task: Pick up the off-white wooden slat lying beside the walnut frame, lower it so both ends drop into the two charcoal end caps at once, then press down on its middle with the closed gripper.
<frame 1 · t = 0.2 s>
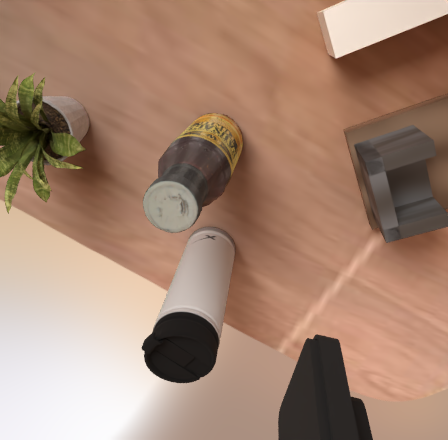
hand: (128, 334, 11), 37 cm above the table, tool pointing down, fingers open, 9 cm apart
travel mug: (210, 246, 52), on the table
sauce bottle: (215, 137, 46), on the table
house plant: (77, 113, 46), on the table
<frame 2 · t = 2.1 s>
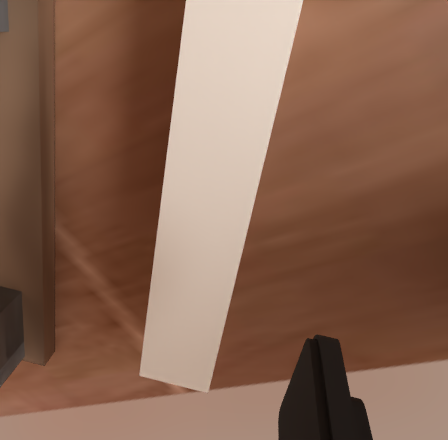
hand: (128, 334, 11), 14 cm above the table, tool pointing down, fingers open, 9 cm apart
slat: (224, 168, 23), on the table
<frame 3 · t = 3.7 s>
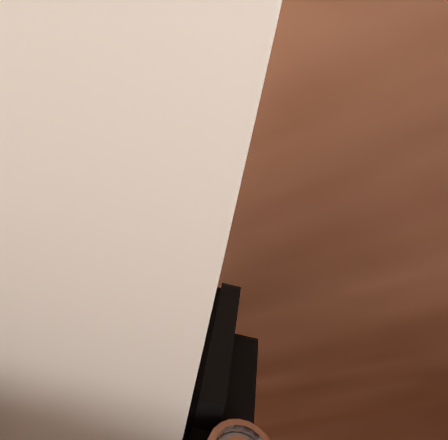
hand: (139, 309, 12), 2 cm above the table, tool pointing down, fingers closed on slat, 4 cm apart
slat: (155, 277, 13), on the table, touching gripper
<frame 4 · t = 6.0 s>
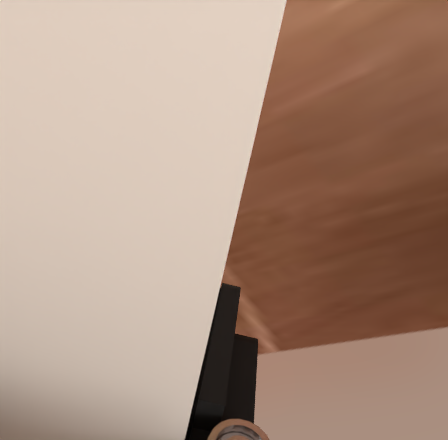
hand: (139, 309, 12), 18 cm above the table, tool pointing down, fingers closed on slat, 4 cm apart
slat: (156, 277, 13), point 16 cm above the table, touching gripper
when the fingers open (6 cm above the table, at t = 8.6 s): slat stays where it is, resting on end cap frame.
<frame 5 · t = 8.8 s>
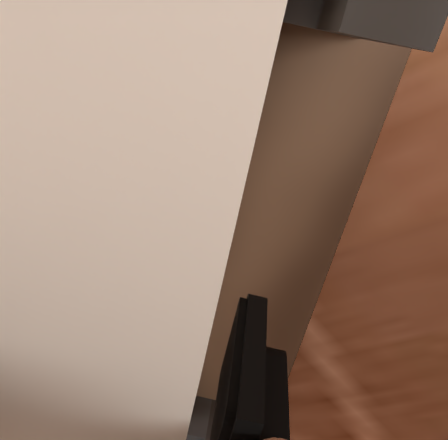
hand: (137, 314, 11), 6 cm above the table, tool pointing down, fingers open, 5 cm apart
end cap frame: (180, 222, 17), on the table
slat: (161, 268, 14), point 3 cm above the table, touching end cap frame
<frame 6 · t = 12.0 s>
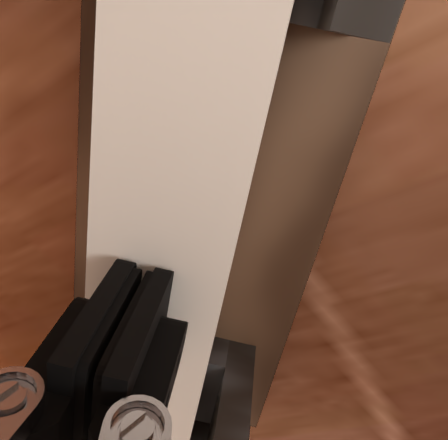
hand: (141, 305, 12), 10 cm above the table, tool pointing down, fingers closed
end cap frame: (205, 187, 20), on the table
slat: (194, 218, 17), point 4 cm above the table, touching end cap frame, gripper
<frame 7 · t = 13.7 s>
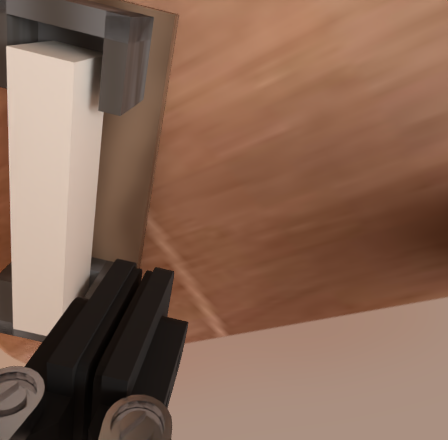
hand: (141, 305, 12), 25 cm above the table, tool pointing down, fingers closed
end cap frame: (87, 172, 37), on the table
slat: (73, 186, 34), point 3 cm above the table, touching end cap frame
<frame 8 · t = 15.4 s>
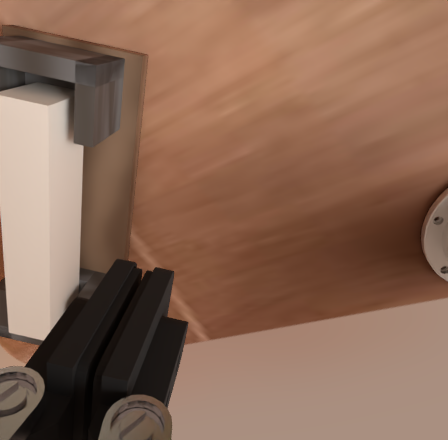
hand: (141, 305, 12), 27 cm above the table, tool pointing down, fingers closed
end cap frame: (76, 192, 41), on the table
slat: (60, 206, 38), point 3 cm above the table, touching end cap frame
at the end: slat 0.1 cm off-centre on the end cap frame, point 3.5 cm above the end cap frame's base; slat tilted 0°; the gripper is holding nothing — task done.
